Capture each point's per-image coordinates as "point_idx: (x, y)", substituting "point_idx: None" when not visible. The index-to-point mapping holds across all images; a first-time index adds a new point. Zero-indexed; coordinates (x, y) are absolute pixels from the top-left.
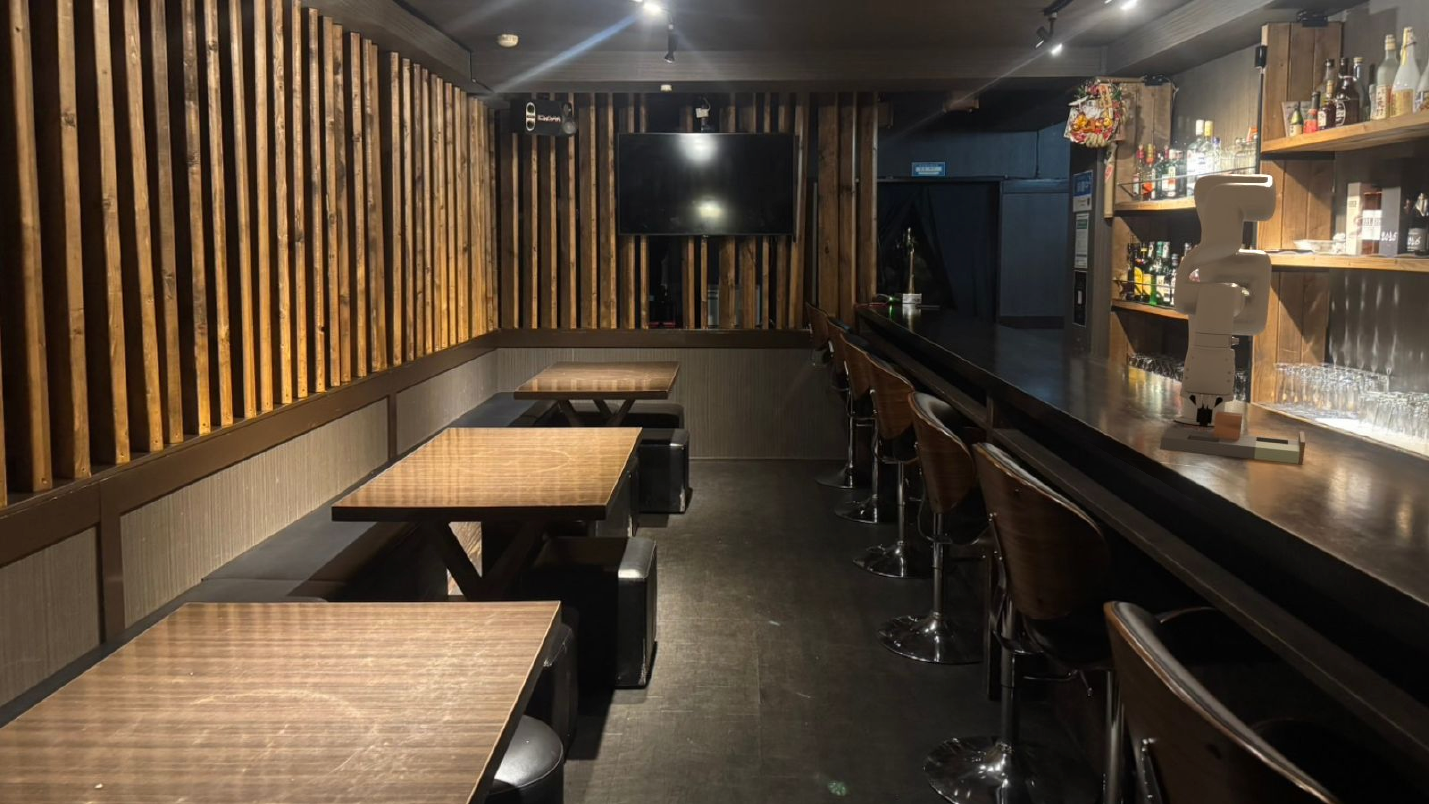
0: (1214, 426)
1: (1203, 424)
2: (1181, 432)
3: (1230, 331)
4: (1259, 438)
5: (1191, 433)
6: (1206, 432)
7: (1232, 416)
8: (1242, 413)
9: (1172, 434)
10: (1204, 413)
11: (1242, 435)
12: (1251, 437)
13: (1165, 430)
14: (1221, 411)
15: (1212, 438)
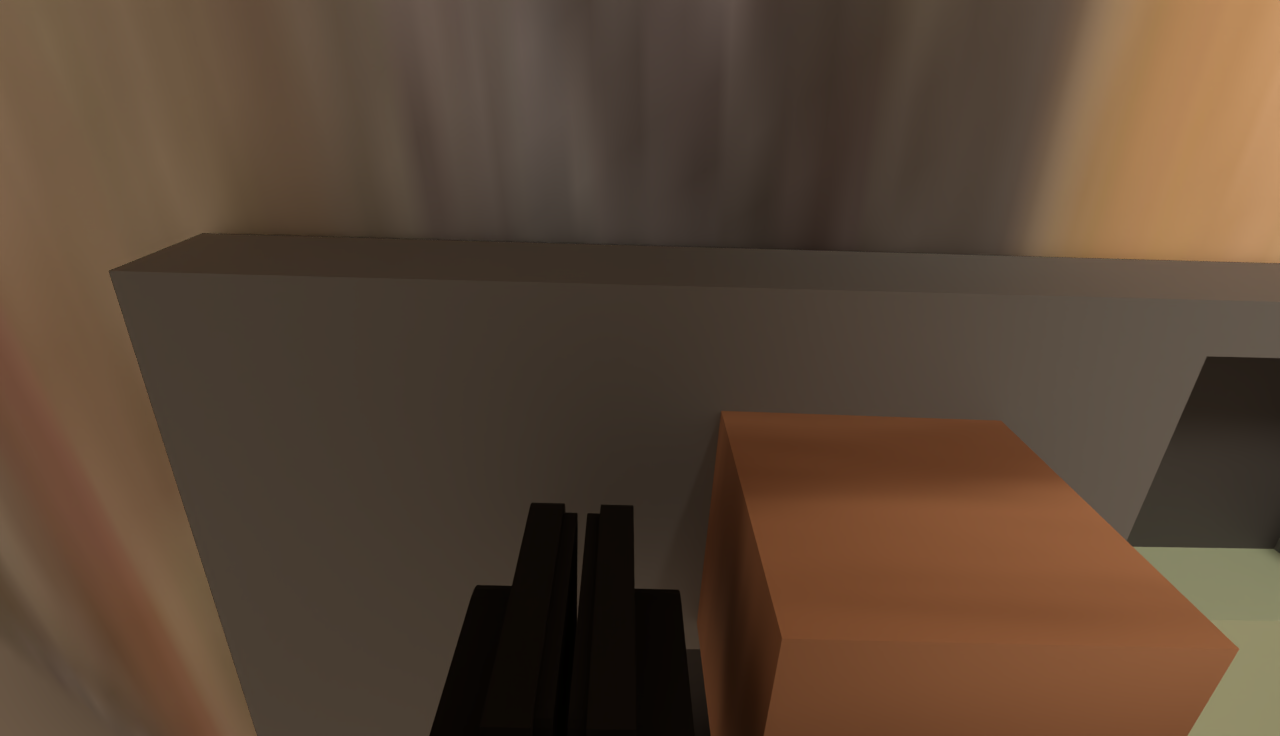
0: (711, 724)
1: (576, 526)
2: (371, 549)
3: None
4: (1225, 352)
5: (476, 551)
6: (624, 379)
7: None
8: (1231, 658)
9: (329, 697)
10: (562, 681)
11: (1048, 344)
12: (1120, 428)
13: (188, 520)
14: (859, 648)
15: (689, 639)
